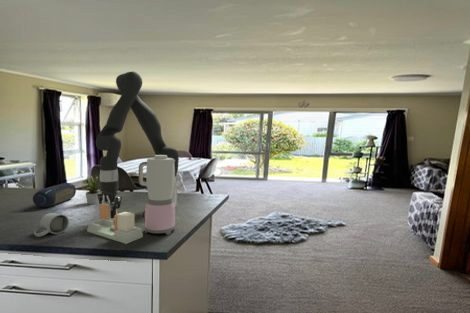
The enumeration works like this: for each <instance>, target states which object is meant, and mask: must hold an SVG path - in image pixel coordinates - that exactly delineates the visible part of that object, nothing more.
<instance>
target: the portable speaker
mask: <svg viewBox="0 0 470 313" xmlns="http://www.w3.org/2000/svg"><path fill="white" fill-rule="evenodd" d="M76 193H77V188H76V186H75V185H74V183H71V182H64V183H60V184H56V185H52V186H48V187H44V188H41V189H40V190H38V191H36V192H35V193H34V195H33V196H32V202H33V204H34V205H35V206H36V207H39V208H48V207H49V208H50V207H52V206H55V205H57V204H60V203H63V202H65V201H68V200H69V201H70V200H72V199H73V198H74V197H75V196H76Z"/></svg>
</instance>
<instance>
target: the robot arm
mask: <svg viewBox="0 0 470 313" xmlns="http://www.w3.org/2000/svg"><path fill="white" fill-rule="evenodd" d="M115 83H116V84H115V85H116V87H117V89H118V91H119V92H120V94H121V96H120V97H119V99H118V100H117V101H116V103H115V104H114V105H113V107H112V109H111V110H110V113H109V115H108V118H107V121H106V123H105V125H104V126H103V128H101V130H100V131H99V133H98V135H97V137H96V140H95V145H96V148H97V149H98V150H99V151H106V154H105V155H103V156H101V157H100V159H99V179H100V181H99V183H100V184H99V185H100V186H99V187H100V188H99V189H100V194H97V196H98V204H99V205H100V204H102V203H105V202H108V204H109V205H110V209H111V218H114V216H115V215H116V209H117V210H118V209H120V208H121V205H122V201H123V200H122V199H123V197H122V196H119V195H118V192H117V191H118V190H119V171H118V169H119V168H118V161H119V156H120V152H121V148H122V141H121V139H120V137H119V136H118V135H116V134H118V133H121V132H122V131H123V128H124V126H125V123H126V119H127V117H128V114H129V112H130V110H132V112H133V114H134V117H135V118H136V119H137V121H138V122H137V123H138V124H139V125H140V127H141V129H142V131H143V132H144V134H145V136H146V138H147V140H148V141H149V144H150V145H151V147H152V150H153V152H154V154H155V155H167V158H173V159H174V160H175V162H174V167H175V180H174V188H173V194H172V201H173V203H174V206H175V208H177V207H178V188H177V173H178V171H179V161H180V160H179V159H180V158H179V156H180V155H179V152H178V150H177V149H176V148H174V147H168V146H167V144H166V143H165V141H164V139H163V136H162V129H161V128H162V127H161V124H160V120H159V119H158V117H157V115H156V113H155V112H154V110H153V109H152V108H150V106H148V105H147V104H146V103H145V102H144V101H143V100H142V99H141V97H140V96H139V95H138V94H139V92H140V91H141V88H142V86H143V78H142V76H141V75H140V73H138V72H136V71H128V72H124V73H121V74H118V75H117V76H116V78H115ZM155 155H154V156H155ZM111 202H114V203H111ZM113 205H114V207H113Z"/></svg>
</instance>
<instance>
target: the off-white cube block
mask: <svg viewBox="0 0 470 313" xmlns="http://www.w3.org/2000/svg"><path fill="white" fill-rule="evenodd" d="M111 203H114V202H111ZM113 207H114V205H113ZM117 214H119V213H118V209H116V215H117ZM103 218H104V219H108V220H111V221H114V218H111V209H110V205H109V204H108V202H105V203H102V204H99V220H100V219H103Z"/></svg>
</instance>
